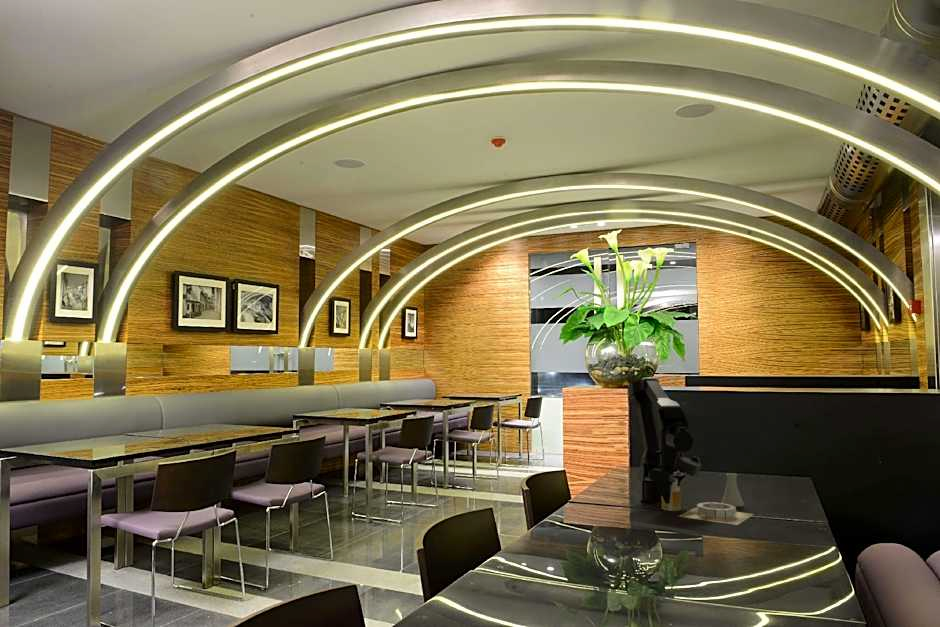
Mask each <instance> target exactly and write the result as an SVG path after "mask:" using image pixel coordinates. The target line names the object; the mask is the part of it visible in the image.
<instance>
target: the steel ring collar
mask: <svg viewBox="0 0 940 627" xmlns="http://www.w3.org/2000/svg"><path fill="white" fill-rule="evenodd" d="M696 507H697V514H698V515H699V516H702V517H705V518H711V519H734V518H735V517H736V512H737V507H735V506H733V505H729V504H724V503H721V502H715V501H713V502H712V501H711V502H710V501H709V502H705V501H704V502H699V503H697V504H696Z"/></svg>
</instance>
